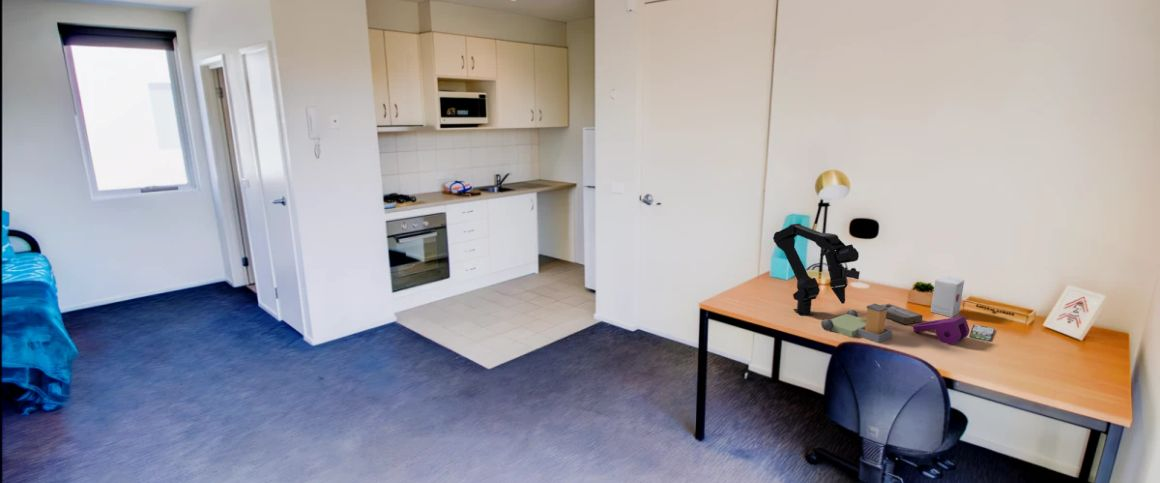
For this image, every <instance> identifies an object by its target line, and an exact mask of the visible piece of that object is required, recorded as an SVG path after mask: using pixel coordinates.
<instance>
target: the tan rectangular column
mask: <svg viewBox="0 0 1160 483" xmlns="http://www.w3.org/2000/svg"><path fill="white" fill-rule="evenodd" d="M881 305H882V304H877V303H872V304H870V305H867V306H866V309H867V310H866V318H865V320H866V325H865V330H866V331H869V332H872V333H875V334H878V335H879V334H881V333H884V328H886V326H885V325H886V318H887V317H886V312H887V309H888V307H885V306H881Z"/></svg>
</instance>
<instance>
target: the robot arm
mask: <svg viewBox="0 0 1160 483" xmlns="http://www.w3.org/2000/svg"><path fill="white" fill-rule="evenodd" d="M797 236H800V237H801V238H805V239H807V240H809V241H812V242H814V243H815V244H816V246H817V247H819V248H821V249H822V252H821V253H820V257H825V261H826V266H827V271H828V274H829V280H830V281H829V287H830V288H831V291H832V292H833V294H835V296H836V297H837V299H838V300H839V302H840V303H841V304H843V305H844V304H845V303H846V288H847V286H848V284H849V281H848V278H849V279H855V280H859V279H860V273H861V272H860V271H859V270H857V268H856V267H851V268H850V269H845V266H844V264H847V263H852V262H857V261H858V260H859V257H860V256H859V255H860V253H859V251H858V249H856V248H855V247H854V245H853V244H847V245H846V243H844V242H843V241H842V240H841V239H840V238H839V236H838V235H837V234H835V233H831V232H830V233H828V232H827V233H826V232H820V231H818V230H815V229H812V228H809V227H807V226H805V225H803V224H801V223H792V224H790V225H788V226H787V227H785V228H783V229H781V230H779V231H775V233H774V234H773V237H772V239H773V242H774V243H775V245H776V246H777V248H778V249H780V250H781V251H782V252H783V253H784V256H785V257H786V260H787V261H788V263H789V265H790V267H791V270H792V272H793V274H794V276H795V278H796V280H797V284H796V289H797V291H795V292H794V293H792V297H793V299H794V300H795V301H797V304H796V308H793V311H794V312H795V313H797V315H799V316H809V315H811V316H813V315H814V312H812V311H811V310H812V300H816V299H817V297H818V295H819V294H820V285H819V283H818V281H817V278H815V277H813V278H812V277H811V276H809V275H808V273H807V270H806V267H805V266H804V264H803V261H802V259H801V258H800V255H799V254H798V252H797V250H796V247H795V244H796V240H795V238H796V237H797Z"/></svg>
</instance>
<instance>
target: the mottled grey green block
mask: <svg viewBox="0 0 1160 483" xmlns="http://www.w3.org/2000/svg"><path fill="white" fill-rule="evenodd" d="M994 333H995V328H994V327H990V326H984V325H979V324H973V325H972V327H971V331H970V332H969V334H968V338H970V339H973V340H978V341H983V342H987V343H990V342H992V339H993V336H994Z"/></svg>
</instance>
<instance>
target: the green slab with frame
mask: <svg viewBox="0 0 1160 483" xmlns="http://www.w3.org/2000/svg"><path fill="white" fill-rule="evenodd" d="M820 324H821V328H822V329H823V330H824V331H831V332H835V333H837V334H841V335H843V336H846V337H848V338H853V337H856V336H857V337H860V338H863V339H866V340H868V341H870V342H875V343H877V344H879V343H882V342H884V341H886V340H889V339H891V338H892V334H893V330H892V329H889V328H887V327H885V328H884V333H881V334H879V335H878V334H875V333H872V332H869V331H866V330H865V325H866V318H861V317H859V313H858V312H857V310H855V309H851V310H850V309H849V310H848V311H846V313H845V314H842V315H840V316H837V317H834V318H831V319H830V318H825V319H822V320H821V322H820Z"/></svg>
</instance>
